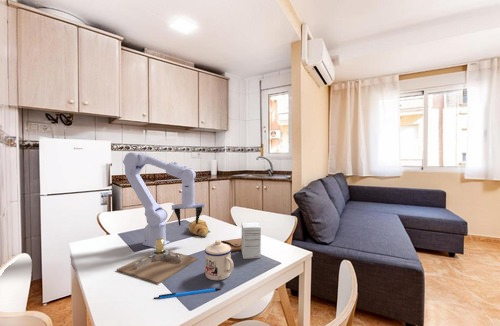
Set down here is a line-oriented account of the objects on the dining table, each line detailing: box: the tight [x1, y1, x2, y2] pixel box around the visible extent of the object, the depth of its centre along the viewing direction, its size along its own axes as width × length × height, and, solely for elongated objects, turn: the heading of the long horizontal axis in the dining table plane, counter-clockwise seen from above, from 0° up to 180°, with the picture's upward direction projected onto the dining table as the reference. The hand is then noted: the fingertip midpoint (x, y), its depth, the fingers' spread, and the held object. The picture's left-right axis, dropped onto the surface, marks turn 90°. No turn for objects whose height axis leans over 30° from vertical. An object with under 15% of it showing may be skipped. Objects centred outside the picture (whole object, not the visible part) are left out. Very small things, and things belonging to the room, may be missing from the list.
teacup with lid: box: [204, 239, 235, 281], centre depth 78 cm, size 12×9×12 cm
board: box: [116, 250, 199, 285], centre depth 86 cm, size 20×20×1 cm
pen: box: [153, 287, 222, 300], centre depth 68 cm, size 1×19×1 cm, turn 104°
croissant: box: [188, 218, 209, 237], centre depth 125 cm, size 21×10×8 cm, turn 34°
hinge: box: [135, 248, 182, 269], centre depth 86 cm, size 14×14×2 cm
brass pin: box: [155, 238, 165, 254], centre depth 91 cm, size 3×3×7 cm
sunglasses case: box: [220, 237, 242, 254], centre depth 102 cm, size 18×7×7 cm, turn 115°
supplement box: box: [241, 221, 262, 259], centre depth 95 cm, size 7×7×13 cm
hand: (188, 224), depth 106 cm, fingers open, 7 cm apart
